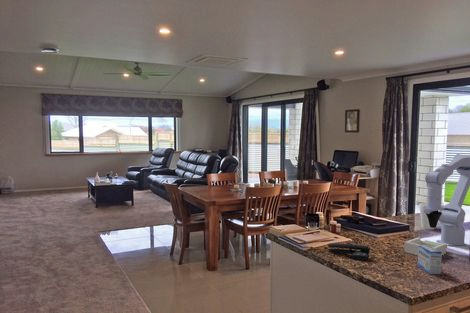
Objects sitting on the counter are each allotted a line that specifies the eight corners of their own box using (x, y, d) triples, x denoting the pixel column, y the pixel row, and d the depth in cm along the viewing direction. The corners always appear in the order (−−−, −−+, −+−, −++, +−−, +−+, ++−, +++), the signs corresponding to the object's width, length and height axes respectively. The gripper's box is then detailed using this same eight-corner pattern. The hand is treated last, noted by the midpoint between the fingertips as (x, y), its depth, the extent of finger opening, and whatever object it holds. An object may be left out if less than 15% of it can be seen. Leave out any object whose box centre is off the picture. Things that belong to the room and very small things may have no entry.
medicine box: (417, 266, 142) (418, 244, 141) (428, 266, 142) (429, 244, 141) (429, 274, 134) (430, 251, 133) (441, 274, 134) (442, 251, 134)
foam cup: (438, 227, 201) (439, 204, 200) (437, 231, 194) (438, 207, 193) (419, 225, 206) (420, 202, 206) (417, 228, 199) (418, 205, 198)
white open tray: (417, 246, 166) (418, 237, 166) (445, 254, 157) (446, 243, 156) (404, 251, 159) (404, 241, 159) (432, 259, 150) (433, 249, 149)
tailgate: (420, 245, 165) (425, 243, 168) (442, 250, 157) (447, 248, 160) (420, 241, 165) (425, 240, 168) (442, 247, 157) (447, 245, 160)
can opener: (371, 257, 152) (372, 244, 151) (367, 262, 146) (367, 248, 146) (330, 249, 162) (331, 237, 161) (324, 253, 156) (325, 240, 156)
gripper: (432, 194, 172) (431, 223, 173) (417, 198, 163) (416, 227, 164) (448, 197, 166) (446, 226, 167) (434, 200, 157) (432, 231, 158)
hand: (432, 227), depth 165 cm, fingers closed
